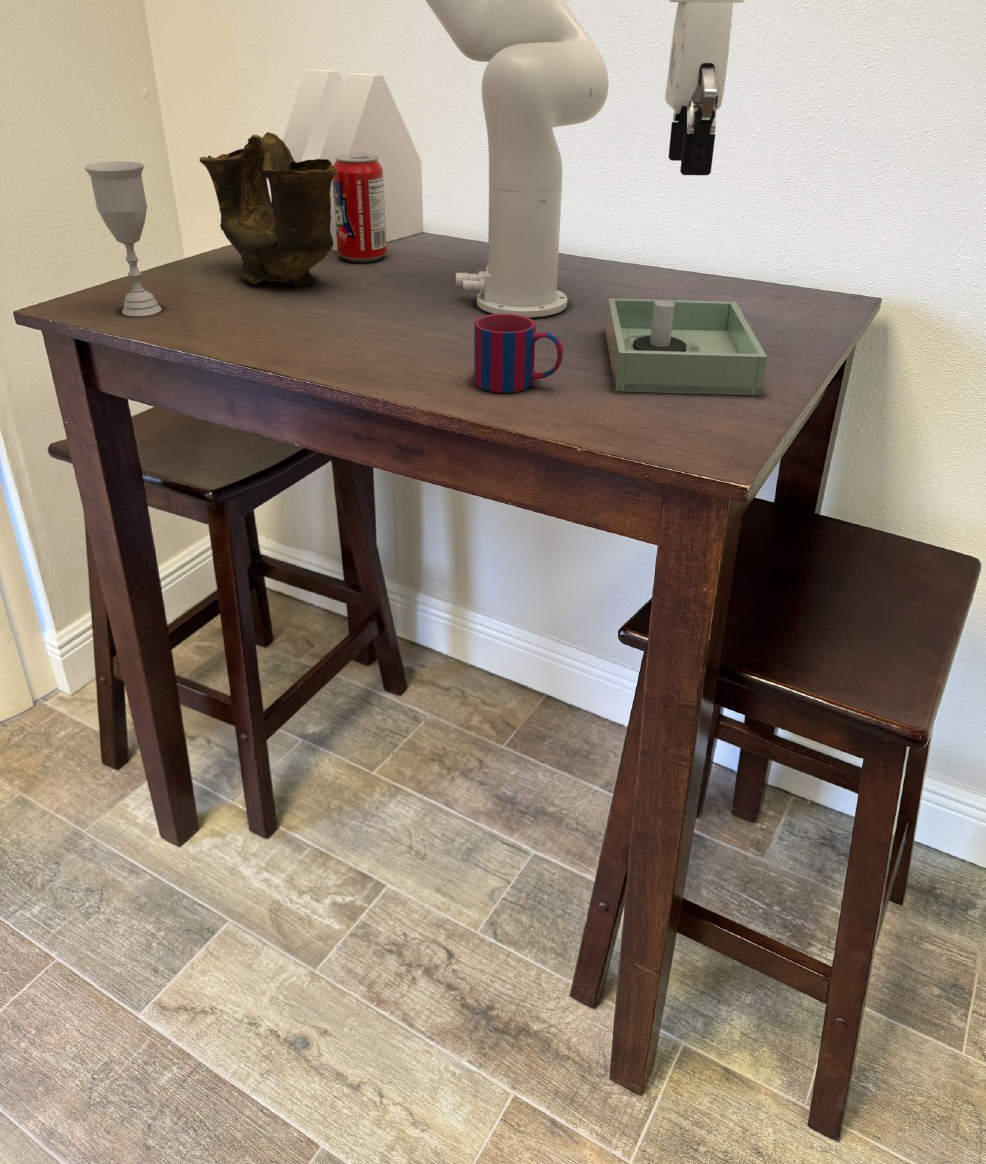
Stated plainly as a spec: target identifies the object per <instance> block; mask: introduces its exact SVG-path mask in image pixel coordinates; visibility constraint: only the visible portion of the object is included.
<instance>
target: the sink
mask: <svg viewBox="0 0 986 1164" xmlns="http://www.w3.org/2000/svg"><path fill="white" fill-rule="evenodd" d="M661 300H662V299H650V298H649V299H648V298H647V299H646V298H645V299H642V298H612V297H611V298H607V308H606V322H605V339H606V344H607V350H608V356H609V361H610V367H611V373H612V379H613V385H614V390H616V391H615V392H624V391H628V389H627V388H629V387H628V386H629V385H628V384H632V385H633V384H634V386H635V387H636V385H637V384H638V386H639V388H638V389H639V390H638V392H637V393H640V392H639V391H641V389H640V388H643V389H642V390H643V392H642V393H655V387H653V386H656V385H657V386H656V390H657V391H656V392H660V390H658V388H659V389H660V388H662V387H663V388H664V392H667V391H668V390H669V391H668V392H676V393H675V394H689V393H688V392H689V390H688V392H687V390H685V391H686V392H684V388H685V389H687V388H689V387H690V388H691V389H693V390H694V389H695V387H697V389H698V391H697V389H696V390H694V391H693V390H690V393H691V392H692V393H698V392H700V394H699V395H702V394H701V393H705V392H706V393H710V392H711V393H710V394H709V395H727V394H744V395H743V396H759V397H760V396H761V394H762V389H763V383H764V377H765V372H766V367H767V360H768V355H767V354H766V352H765V350H764V349H763V347H762V345H761V343H760V342H759V340H758V338H757V337H756V334H755V333H754V331H753V329H752V328H751V326H750V324H749V323H748V321H747V319H746V317H745V316H744V314H743V312H742V311H741V309H740V307H739V304H737V302H736V301H721V300H719V301H718V300H716V301H715V300H686V299H685V300H680V299H664V300H665V301H671V302H673V303H674V304H675V306H674V314H673V323H672V329H678V330H714V331H726V332H727V334H728V336H729V338H730V340H731V342H732V343H733V345H734V347H735V349H736V351H737V353H705V352H670V351H635V350H626V349H625V345H624V340H623V336H622V331H621V328H642V329H651V328H652V319H653V309H654V302H656V301H661ZM606 330H607V331H606ZM613 369H614V370H613ZM614 378H615V379H614ZM623 383H624V389H625V388H626V389H627V390H626V389H625V390H624V391H622V390H621V391H620V390H618V389H619V388H618V387H617V388H618V389H617V388H616V384H619V386H620V384H623ZM625 384H626V386H625ZM646 384H647V386H646ZM648 384H649V388H648ZM650 384H651V386H652V387H653V388H654V392H653V391H652V392H651V391H650V388H651V386H650ZM627 385H628V386H627ZM632 385H630V387H631V388H633V387H632ZM642 385H643V386H642ZM666 385H667V386H669V387H670V388H669V387H667V386H666ZM670 385H671V386H670ZM680 385H681V386H682V387H681V391H680V389H679V393H678V388H680ZM684 385H685V386H686V387H684ZM617 386H618V385H617ZM621 386H622V385H621ZM621 386H620V388H622V387H621ZM641 386H642V387H641ZM659 386H660V387H659ZM661 386H662V387H661ZM672 386H673V387H672ZM675 386H676V389H677V390H676V389H675ZM678 386H679V387H678ZM688 386H689V387H688ZM698 386H699V387H698ZM702 386H703V389H702ZM635 387H634V391H636V390H635ZM666 387H667V388H668V389H667V391H666V389H665V388H666ZM677 387H678V388H677ZM693 387H694V388H693ZM700 387H701V388H700ZM714 387H715V388H714ZM732 387H733V388H732ZM739 387H740V388H739ZM754 387H755V388H756V389H755V392H754V393H756V392H757V390H758V392H757V393H759V391H760V394H757V393H756V395H755V394H754V395H752V394H750V392H751V393H752V392H753V390H751V389H753V388H754ZM631 388H630V389H631ZM645 388H647V390H645ZM672 388H674V391H670V390H672ZM699 388H700V389H699ZM706 388H707V391H706ZM710 388H711V390H710ZM723 388H724V391H722V390H723ZM743 388H744V392H745V393H744V392H743ZM745 388H746V390H745ZM760 388H761V390H760ZM630 389H629V390H630ZM636 389H637V387H636ZM682 389H683V391H682ZM715 389H716V390H715ZM719 389H721V390H720V391H719ZM732 389H733V390H732ZM739 389H740V390H739ZM741 389H742V390H741ZM652 390H653V389H652ZM714 390H715V391H714ZM732 391H733V392H732ZM661 392H663V389H661ZM680 392H681V393H680ZM682 392H684V393H682ZM712 392H713V393H712ZM723 392H724V393H723ZM727 392H728V393H727ZM741 392H742V393H741ZM748 392H749V393H748ZM722 393H723V394H722Z"/></svg>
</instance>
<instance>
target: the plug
mask: <svg viewBox="0 0 986 1164" xmlns="http://www.w3.org/2000/svg"><path fill="white" fill-rule="evenodd" d="M660 300H661V301H656V302H654V309H653V319H652V328H651V335H650V336H643V337H639V338H637V339H635V340H634V342H633V348H634V349H635V350H636V351H670V352H685V351H686V347H687V346H686V343H685V342H683V341H682V340H679V339H677V338H673V337H671V331H672V323H673V314H674V306H675V304H674V303H673V302H671V301H665V300H666V299H660Z"/></svg>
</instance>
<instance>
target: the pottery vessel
mask: <svg viewBox="0 0 986 1164" xmlns="http://www.w3.org/2000/svg"><path fill="white" fill-rule="evenodd" d="M199 162H200V163H201V164H202V165H203V166H204V168H206V170H207V172H208V174H209V176H210V179H211V181H212V184H213V188H214V191H215V195H216V200H217V203H218V208H219V209H218V210H219V213H220V223H219V227H220V230H221V231H222V232H223V234H224V236H225V237H226V240H228V241H229V243H230V244H231V245H232V246H233V247H234V249H235V250H236V251H237V252H238V254H239V255H240V256H241V257H240V258H241V260H242V270H241V273H240V275H239V276H240V279H241V280H243V281H246V282H248V283H249V284H252V285H254V284H255V285H256V284H257V283H260V282H262V281H268V282H279V283H282V284H287V283H289V282H292V283H293V285H294V286H297V287H300V286H301V285H302V286H304V285H306V284H311V283H312V282H314V279H315V278H314V276H313V275H312V273H311V272H310V270H311V269H312V268H313V267H315V266H316V265H317V264H319V263H321V262H322V261H323V260H325V258H326V257H327V256H328V254H329V253H330V251H332V250H331V249H332V247H333V239H332V235H331V232H330V225H331V198H330V191H331V190H330V189H331V182H332V179H333V177H334V176H335V175H336V173H337V171H336V169H334V166H333V165H332V163H331V161H329V160H328V159H315V160H306V161H301V162H298V163H297V162H295V161H294V159H293V157H292V155H291V153H290V150H289V149H288V148H287V146H286V145H285V143H284V141H282V139H281V138H280V137H279V135H277V134H275V133H273V132H270V131H267V132H266V133H265V134H264V135H263V136H260V135H258V134H255V133H254V134H252V135H251V136H250V137H249V138H248V139H247V144H245V145H244V146H243V148H239V149H236V150H233V151H232V152H228V153H221V154H219V155H218V156H216V157H213V156H211V155H207V156H201V157H199ZM268 184H269V185H268Z"/></svg>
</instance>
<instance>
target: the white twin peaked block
mask: <svg viewBox="0 0 986 1164" xmlns="http://www.w3.org/2000/svg"><path fill="white" fill-rule="evenodd" d="M281 140H282V141H284V143H285V145H286V146H287V148H288V149H289V150H290V153H291V155H292V157H293V159H294V161H295V162H297V163H298V162H301V161H306V160H315V159H328V160H329V161H331V163H332V165H334V163H335V161H336V160H335V157H336V156H338V155H343V154H370V155H375V156H377V157H378V162H379V163H380V165H381V166H382V168H383V179H384V201H385V223H386V243H388V242H392V241H396V240H400V239H403V238H407V237H410V236H413V235H417V234H422V233H424V212H423V211H424V210H423V209H424V207H423V206H424V205H423V173H422V171H423V170H422V169H423V168H422V167H423V166H422V160H421V158H420V155H419V153H418V151H417V149H416V146H415V144H414V142H413V140H412V137H411V134H410V132H409V130H408V129H407V126H406V124H405V122H404V120H403V117H402V114H401V113H400V110H399V108H398V106H397V103H396V102H395V100H394V97H393V95H392V93H391V90H390V87H389V85H388V83H387V81H386V79H385V77H384V74H375V73H374V74H373V73H362V72H350V73H347V74H346V77H345V80H344V79H343V77H342V74H341V73H340V71H339V70H332V69H323V68H322V69H321V68H305V69H304V70H303V73H302V76H301V80H300V83H299V86H298V89H297V93H296V95H295V99H294V102H293V105H292V108H291V111H290V114H289V118H288V120H287V124H286V126H285V129H284V133H283V137H282V139H281ZM330 190H331V191H330V198H331V225H330V232H331V235H332V239H333V247H332V249H331V250H330V251H335V252H338V251H337V240H336V227H335V213H334V200H333V186H332V182H331V189H330Z"/></svg>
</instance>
